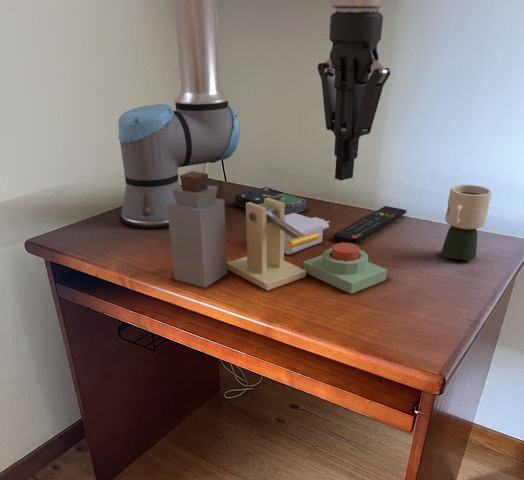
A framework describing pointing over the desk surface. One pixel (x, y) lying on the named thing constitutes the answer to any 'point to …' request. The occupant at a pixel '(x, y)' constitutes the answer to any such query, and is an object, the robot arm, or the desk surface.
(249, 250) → the bracket
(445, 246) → the character mug
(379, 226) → the remote control
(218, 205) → the perfume bottle
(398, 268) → the desk surface
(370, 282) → the button box
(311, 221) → the charger
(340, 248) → the button
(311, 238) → the t-handle lever
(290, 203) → the disk drive
